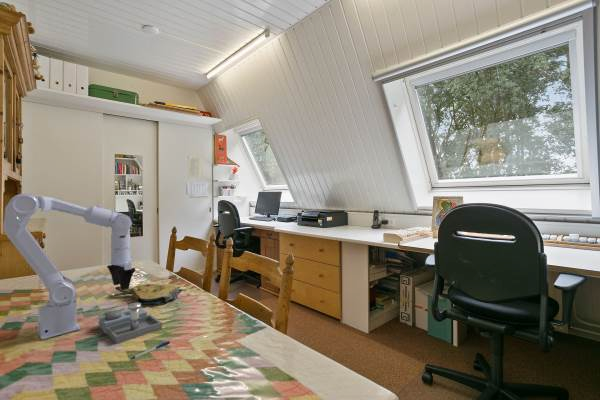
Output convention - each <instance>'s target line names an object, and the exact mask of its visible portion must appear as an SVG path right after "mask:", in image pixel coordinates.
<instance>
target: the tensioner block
mask: <svg viewBox="0 0 600 400" xmlns="http://www.w3.org/2000/svg"><path fill="white" fill-rule="evenodd" d="M147 314H148V312H147V311H146V310H144V309H143V308H142V307H140V308H139V318H141V317H144V316H148V315H147ZM127 321H130V309H125V310H119V309H116V310H115V309H114V310H110V311H107V312H105V314H104V315H103V316H99V317H98V323H99V324H98V325H99V328H100V329H101V330H102V331H103V332H104V333H105V334H106V327H109V326H113V325H116V324H120V323H123V322H127Z"/></svg>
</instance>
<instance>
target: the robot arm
mask: <svg viewBox="0 0 600 400" xmlns="http://www.w3.org/2000/svg"><path fill="white" fill-rule="evenodd" d="M39 209H40V211H41V212H47V211H48V212H49V211H57V212H60V213H65V214H68V215H69V214H70V215H74V216H78V217H81V218H83V219H84V221H85V222H86V223H88V224H93V225H97V226H101V227H103V228H111V235H110V250H111V251H110V265H106V268H107V269H108V271H109V272H110V275H111V280H112V283H113V285H114V286H119V287H121V290H125V289H129V287H130V285H131V281H132V279H133V275H134V273H135V272H136V268H135V267H132V263H131V262H135V259H134V258H131V233H130V231H131V229H130V228H131V227H132V225H133V221H132V219H131V217H130V216H129V215H127V214H124V213H121V212H118V210H116V209H114V210H110V209H107V208H103V206H102V205H99V204H98V205H90V206H89V207H85V206H81V205H78V204H75V203H73V202H68V201H65V200H62V199H59V198H54V197H52V196H51V197H50V196H45V195H36V196H35V195H34V194H32V193H27V192H26V193H25V192H24V193H19V194H16V195H14V196H13V197H11V199H10V200H9V201H8V203H7V204H6V206H5V208H4V216H3V217H4V218H3V222H2V224H3V225H2V230H3V233H4V234H5V236H6V237H7V239H8V240H9V241H11V243H12V244H13V246H14V248H15V249H16V250H17V251H18V252H19V253H20V255H21V256H22V257H23V258H24V260H25V261H26V262H27V263H28V265H29V266H30V268H32V270H33V271H34V273H35V274H36V276H38V277H39V279H40V280H41V281H42V283H43V285H44V287H45V289H46V291H47V292H48V298H49V300H47V302H46V304H44V305H41V306H39V307H37V328H36V329H37V334H38V336H39V338H40V340H41V341H42V340H47V339H50V338H54V337H58V336H60V335H65V334H68V333H71V332H75V331H78V330H81V328H82V327H81V326H80V325H79V323H78V322H77V321H78V320H77V319H78V317H77V316H78V314H77V311H78V310H77V303H78V302H77V297H76V293H77V292H76V288H75V285H74V282H73V281H72V279H70V278H68V277H65V276H64V275H63V273H62V272H61V271H60V270H59V269H58V268H57V266H56V265H55V264H54V262H53V261H52V259H50V257H49V255H47V253H46V251H45V250H44V249H43V248H42V247H41V245H40V244H39V242H38V241H37V240H36V238H35V237H34V236H33V234H32V233H31V231H30V230H29V228H27V227H28V225H29V221H30V220H31V218H32V217H33V216H34V214H35V213H37V211H38V210H39Z"/></svg>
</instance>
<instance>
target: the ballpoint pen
mask: <svg viewBox="0 0 600 400" xmlns="http://www.w3.org/2000/svg"><path fill="white" fill-rule="evenodd" d="M169 344H171V342H170V340H167V341H163V342H162V343H160V344H158V345H157V346H155V347H153V348H150V349H148V350H146V351H143V352H141V353H139V354H137V355H134V356H132V357H131V358H130V359H131V360H133V359H137V358H139V357H141V356H143V355H146V354H149V353H151V352H152V351H155V350H157V349H160V348H162V347H165V346H167V345H169Z"/></svg>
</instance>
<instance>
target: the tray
mask: <svg viewBox="0 0 600 400" xmlns="http://www.w3.org/2000/svg"><path fill="white" fill-rule="evenodd" d="M162 329H163V322H162V321H161V320H159V319H158V318H156V317H155V316H154V315H152V314H148V315H147V316H144V317H141V318H139V329H137V330H134V331H130V321H127V322H123V323H120V324H116V325H113V326H109V327H106V333H105V334H106V335H107V336H108V337H109V338H110V339H111V341H112V342H114V344H116V345H117V344H120V343H122V342H126V341H129V340H132V339H135V338H138V337H141V336H144V335H147V334H150V333H154V332H156V331H159V330H162Z"/></svg>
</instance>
